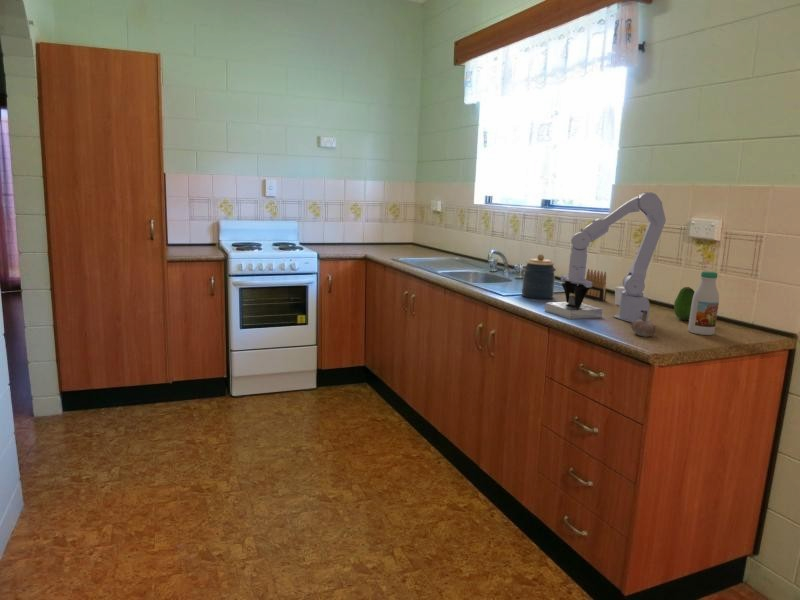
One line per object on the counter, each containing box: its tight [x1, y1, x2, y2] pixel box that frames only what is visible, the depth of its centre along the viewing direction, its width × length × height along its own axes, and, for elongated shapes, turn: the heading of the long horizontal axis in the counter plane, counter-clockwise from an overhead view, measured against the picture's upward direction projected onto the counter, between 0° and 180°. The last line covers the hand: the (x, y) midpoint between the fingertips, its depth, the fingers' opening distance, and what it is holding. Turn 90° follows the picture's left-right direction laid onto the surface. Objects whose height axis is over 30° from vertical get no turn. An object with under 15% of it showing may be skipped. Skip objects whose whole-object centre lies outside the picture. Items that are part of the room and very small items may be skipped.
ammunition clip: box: [584, 268, 607, 302], centre depth 244 cm, size 11×2×12 cm, turn 29°
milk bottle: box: [687, 270, 720, 336], centre depth 189 cm, size 8×8×20 cm
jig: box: [544, 301, 603, 320], centre depth 212 cm, size 14×14×3 cm
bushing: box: [568, 292, 580, 307], centre depth 211 cm, size 4×4×6 cm
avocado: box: [673, 286, 695, 321], centre depth 209 cm, size 8×8×12 cm
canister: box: [521, 253, 557, 300], centre depth 243 cm, size 13×13×18 cm
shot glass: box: [614, 285, 625, 306], centre depth 234 cm, size 7×7×7 cm
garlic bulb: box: [631, 310, 656, 338], centre depth 185 cm, size 8×7×8 cm
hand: (573, 303), depth 212 cm, fingers open, 4 cm apart
